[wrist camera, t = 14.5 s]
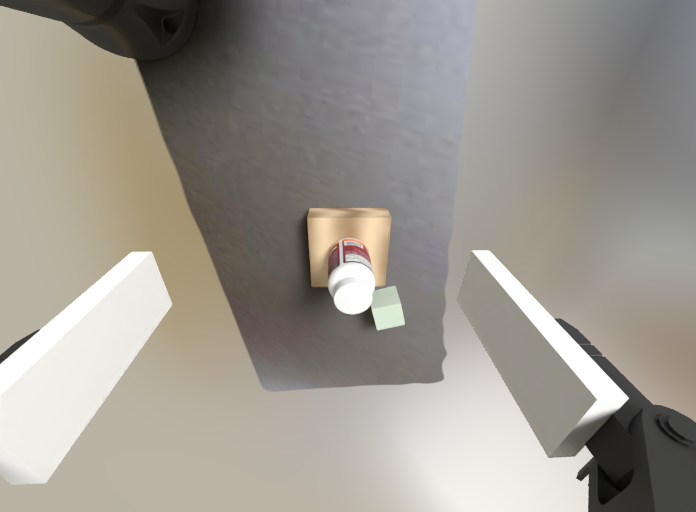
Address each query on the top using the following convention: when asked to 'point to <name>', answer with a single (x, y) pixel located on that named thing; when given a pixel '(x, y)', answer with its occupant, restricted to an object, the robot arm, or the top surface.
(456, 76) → the top surface
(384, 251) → the oak block
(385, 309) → the sage cube
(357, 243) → the pill bottle
